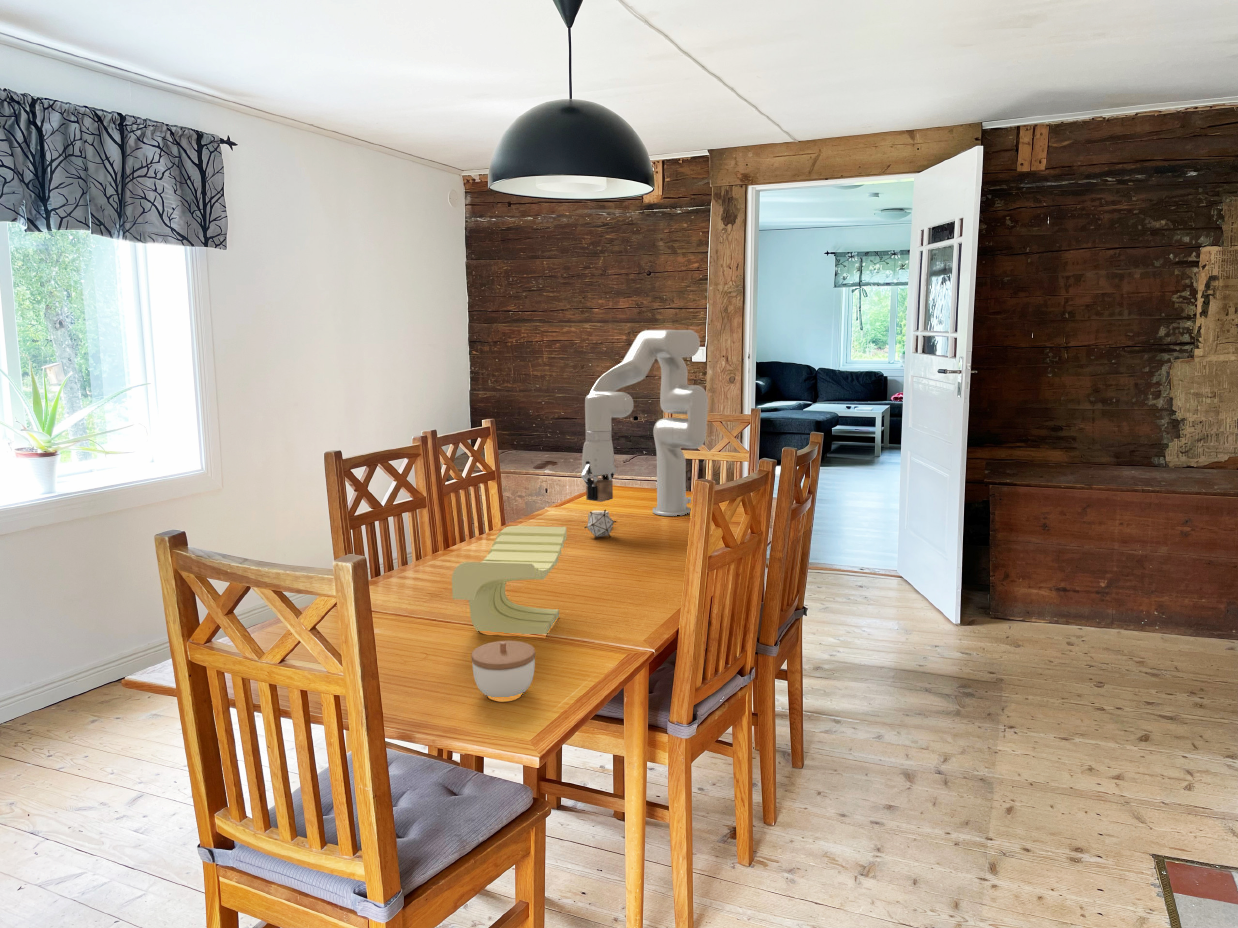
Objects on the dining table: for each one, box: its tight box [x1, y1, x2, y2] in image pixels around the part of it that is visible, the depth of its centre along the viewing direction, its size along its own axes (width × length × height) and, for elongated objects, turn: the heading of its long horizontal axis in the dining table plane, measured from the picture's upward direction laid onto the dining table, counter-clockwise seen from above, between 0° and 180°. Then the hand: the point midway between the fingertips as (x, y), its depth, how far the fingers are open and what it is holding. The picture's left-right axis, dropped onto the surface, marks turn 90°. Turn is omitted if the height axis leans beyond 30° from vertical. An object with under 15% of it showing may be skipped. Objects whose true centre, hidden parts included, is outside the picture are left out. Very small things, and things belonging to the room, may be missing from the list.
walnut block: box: [585, 478, 614, 503], centre depth 253 cm, size 6×6×6 cm
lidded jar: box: [470, 640, 536, 697], centre depth 146 cm, size 11×11×9 cm
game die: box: [584, 509, 618, 540], centre depth 255 cm, size 9×8×10 cm
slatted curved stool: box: [451, 525, 568, 634], centre depth 180 cm, size 30×16×18 cm, turn 171°
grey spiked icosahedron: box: [587, 510, 610, 523], centre depth 267 cm, size 5×5×5 cm
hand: (599, 497), depth 253 cm, fingers closed on walnut block, 5 cm apart
